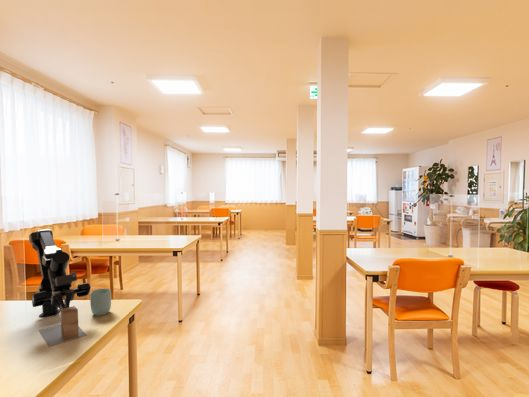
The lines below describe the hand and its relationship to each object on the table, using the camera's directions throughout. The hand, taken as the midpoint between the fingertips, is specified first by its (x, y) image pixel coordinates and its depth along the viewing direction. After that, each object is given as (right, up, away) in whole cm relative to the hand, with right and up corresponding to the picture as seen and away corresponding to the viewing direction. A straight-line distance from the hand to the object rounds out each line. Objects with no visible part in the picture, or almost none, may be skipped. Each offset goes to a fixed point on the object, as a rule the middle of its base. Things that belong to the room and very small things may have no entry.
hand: (66, 313), depth 123 cm
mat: (-2, -8, +1) cm, 8 cm away
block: (+3, -7, -2) cm, 8 cm away
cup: (+3, -7, +19) cm, 21 cm away
